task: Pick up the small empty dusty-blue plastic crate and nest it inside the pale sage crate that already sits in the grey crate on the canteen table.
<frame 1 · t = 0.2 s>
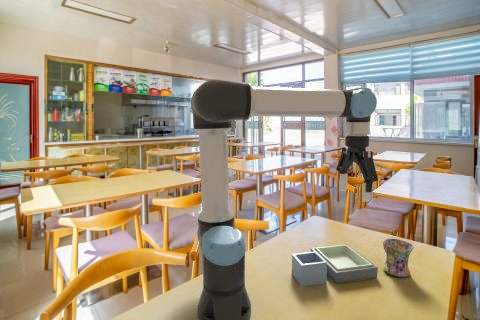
hand: (353, 196, 102), 27 cm above the table, fingers open, 13 cm apart
mug: (393, 270, 105), on the table
top crate: (341, 260, 106), in the bottom crate, point 3 cm above the table
small crate: (308, 278, 100), on the table
bottom crate: (341, 267, 107), on the table
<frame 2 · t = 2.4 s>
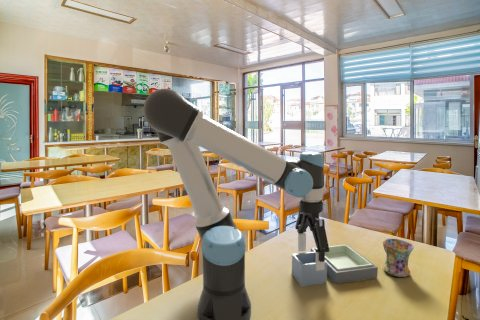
hand: (310, 259, 99), 7 cm above the table, fingers open, 13 cm apart
nothing on the table moved.
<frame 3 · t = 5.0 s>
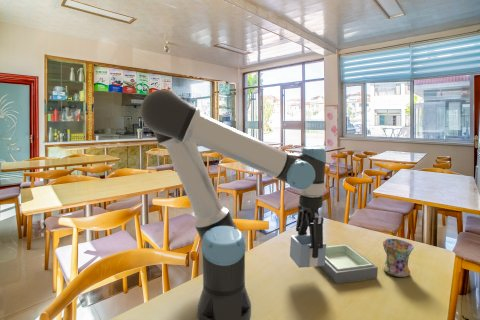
hand: (307, 259, 99), 7 cm above the table, fingers closed on small crate, 8 cm apart
small crate: (306, 260, 99), point 6 cm above the table, touching gripper
everything else where it was.
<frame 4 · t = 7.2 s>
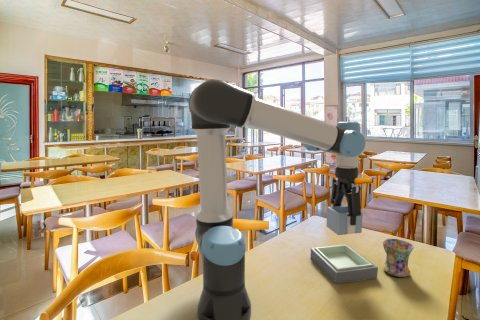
hand: (343, 228, 105), 15 cm above the table, fingers closed on small crate, 8 cm apart
small crate: (343, 229, 105), point 15 cm above the table, touching gripper
everything else where it was.
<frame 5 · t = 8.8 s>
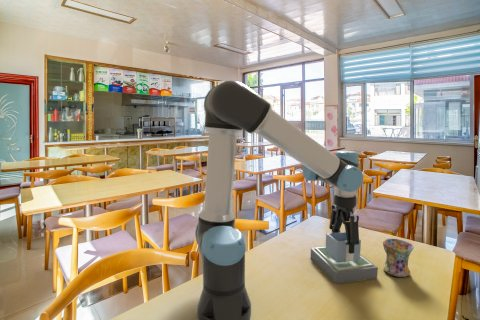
hand: (342, 255, 106), 5 cm above the table, fingers closed on small crate, 8 cm apart
small crate: (342, 256, 106), point 4 cm above the table, touching gripper
everything else where it was.
when the fingers open (4 cm above the table, at t = 9.8 s): small crate drops 2 cm, resting on top crate.
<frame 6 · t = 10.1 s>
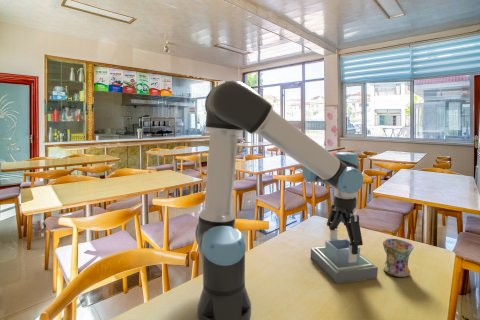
hand: (342, 253, 106), 5 cm above the table, fingers open, 12 cm apart
small crate: (341, 263, 107), point 1 cm above the table, touching top crate
everything else where it was.
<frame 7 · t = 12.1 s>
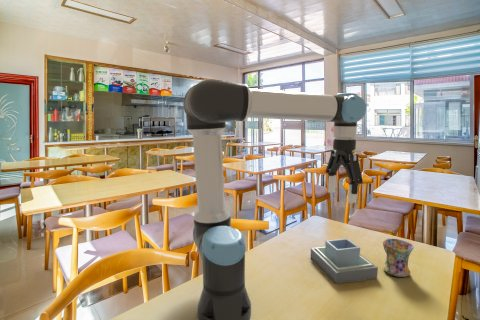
hand: (341, 197, 105), 26 cm above the table, fingers open, 13 cm apart
nothing on the table moved.
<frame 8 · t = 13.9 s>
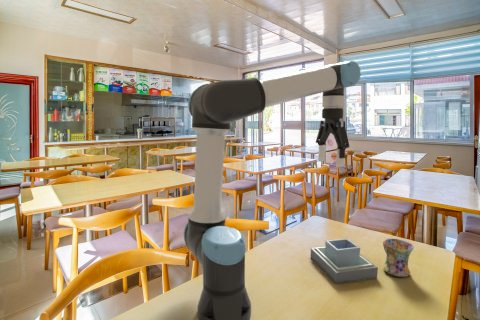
hand: (330, 164, 112), 37 cm above the table, fingers open, 13 cm apart
nothing on the table moved.
at the end: small crate inside the target area on the top crate (0.1 cm from its centre), point 1.5 cm above the top crate's base; small crate tilted 0°; the gripper is holding nothing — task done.
